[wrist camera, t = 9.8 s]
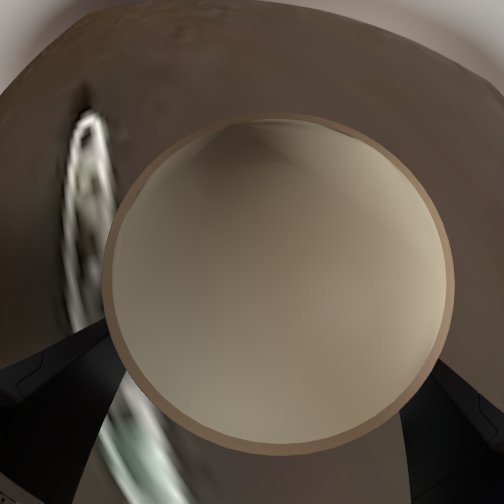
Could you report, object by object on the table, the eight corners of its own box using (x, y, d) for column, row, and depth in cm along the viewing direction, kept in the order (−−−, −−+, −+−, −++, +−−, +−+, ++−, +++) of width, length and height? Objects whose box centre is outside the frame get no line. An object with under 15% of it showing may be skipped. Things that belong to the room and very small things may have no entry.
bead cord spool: (251, 401, 15) (232, 527, 3) (191, 312, 17) (53, 215, 5) (340, 338, 16) (505, 293, 4) (278, 254, 18) (310, 74, 6)
